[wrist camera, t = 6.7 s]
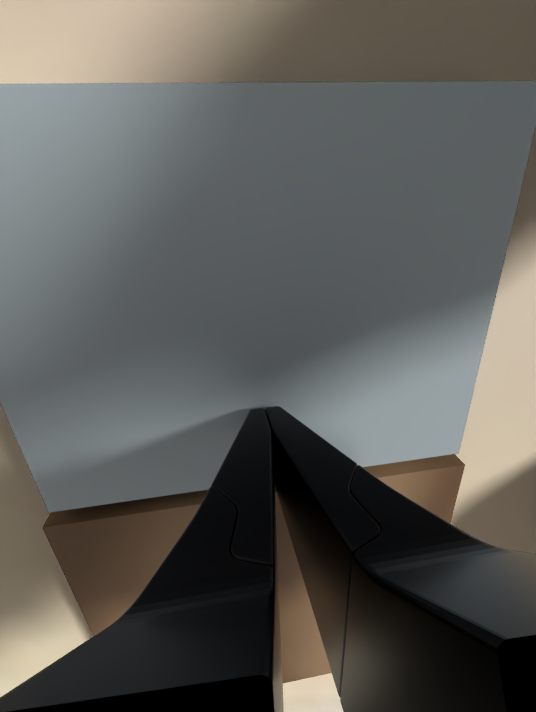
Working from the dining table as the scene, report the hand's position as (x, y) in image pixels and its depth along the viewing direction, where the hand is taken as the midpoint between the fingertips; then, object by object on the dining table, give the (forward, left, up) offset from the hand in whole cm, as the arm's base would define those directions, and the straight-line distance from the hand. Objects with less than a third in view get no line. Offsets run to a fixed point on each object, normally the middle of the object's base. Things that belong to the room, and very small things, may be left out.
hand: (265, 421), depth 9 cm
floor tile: (0, -3, -2) cm, 3 cm away
